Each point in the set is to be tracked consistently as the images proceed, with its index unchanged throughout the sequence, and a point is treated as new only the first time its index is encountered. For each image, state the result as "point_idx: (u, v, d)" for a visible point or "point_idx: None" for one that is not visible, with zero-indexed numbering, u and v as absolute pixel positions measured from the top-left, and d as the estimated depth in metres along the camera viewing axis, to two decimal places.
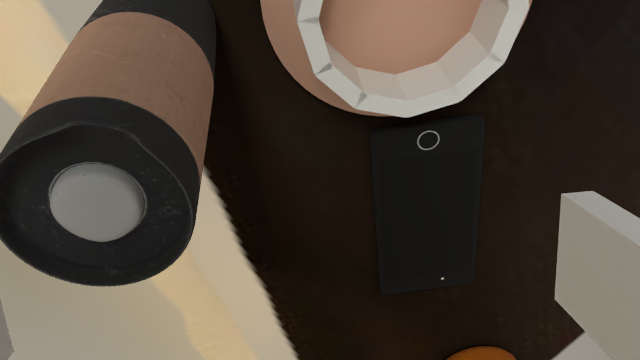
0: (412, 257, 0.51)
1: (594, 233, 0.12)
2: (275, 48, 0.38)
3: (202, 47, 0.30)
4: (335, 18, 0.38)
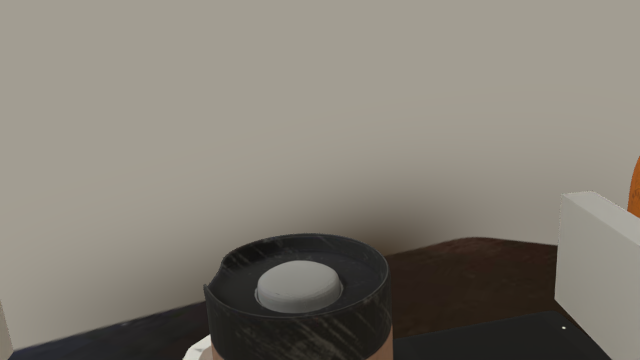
0: (550, 351, 0.49)
1: (594, 233, 0.12)
2: None
3: None
4: None
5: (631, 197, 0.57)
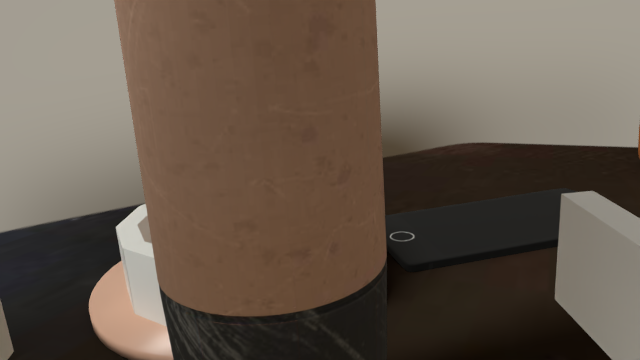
0: None
1: (594, 233, 0.12)
2: None
3: None
4: None
5: None
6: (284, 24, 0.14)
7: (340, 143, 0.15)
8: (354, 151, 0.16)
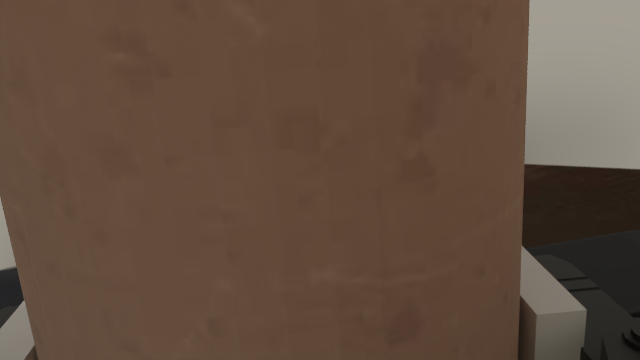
0: None
1: None
2: None
3: None
4: None
5: None
6: (356, 65, 0.05)
7: (469, 329, 0.07)
8: (492, 336, 0.07)
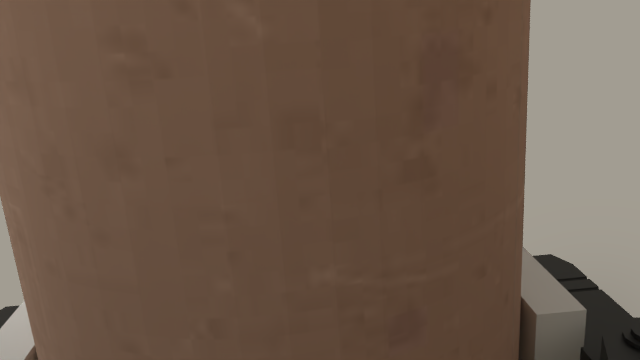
0: None
1: None
2: None
3: None
4: None
5: None
6: (358, 66, 0.05)
7: (469, 330, 0.07)
8: (492, 338, 0.07)
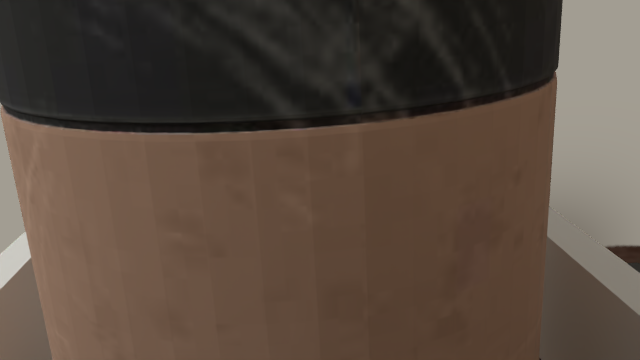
0: None
1: None
2: None
3: None
4: None
5: None
6: (398, 244, 0.05)
7: None
8: None
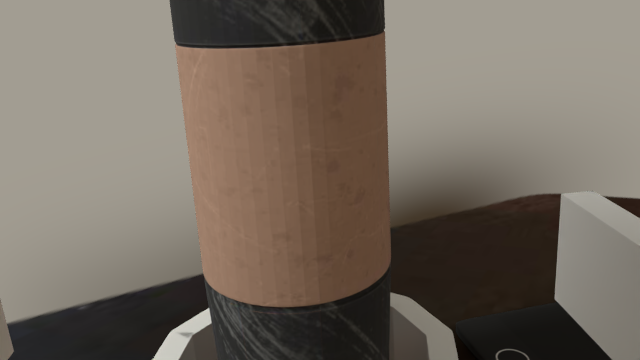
0: None
1: (594, 233, 0.12)
2: None
3: None
4: None
5: None
6: (316, 83, 0.18)
7: (357, 172, 0.19)
8: (367, 177, 0.20)
